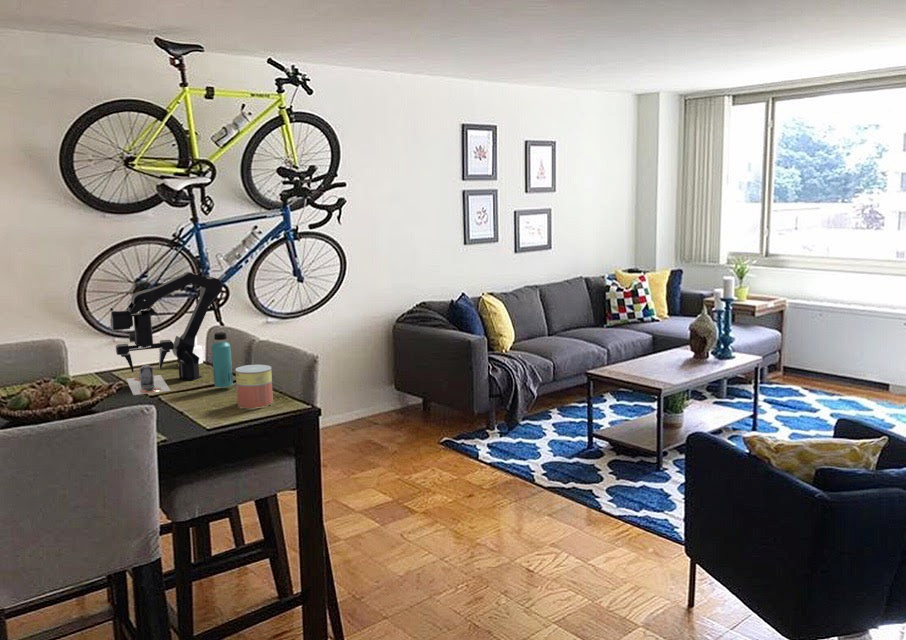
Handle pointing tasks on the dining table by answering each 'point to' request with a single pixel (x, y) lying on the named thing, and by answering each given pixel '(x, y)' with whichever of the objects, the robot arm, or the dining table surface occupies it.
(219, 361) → the beverage bottle
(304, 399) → the dining table surface
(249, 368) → the canned food
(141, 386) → the flange strip
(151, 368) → the locating pin
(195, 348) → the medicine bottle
